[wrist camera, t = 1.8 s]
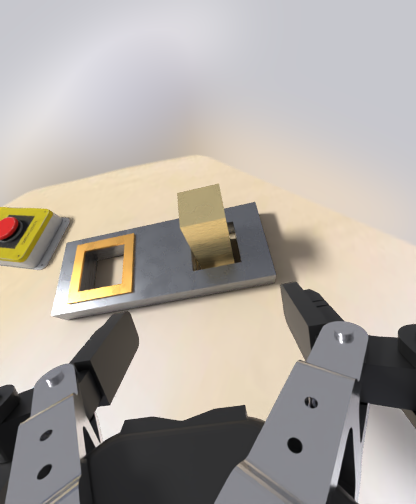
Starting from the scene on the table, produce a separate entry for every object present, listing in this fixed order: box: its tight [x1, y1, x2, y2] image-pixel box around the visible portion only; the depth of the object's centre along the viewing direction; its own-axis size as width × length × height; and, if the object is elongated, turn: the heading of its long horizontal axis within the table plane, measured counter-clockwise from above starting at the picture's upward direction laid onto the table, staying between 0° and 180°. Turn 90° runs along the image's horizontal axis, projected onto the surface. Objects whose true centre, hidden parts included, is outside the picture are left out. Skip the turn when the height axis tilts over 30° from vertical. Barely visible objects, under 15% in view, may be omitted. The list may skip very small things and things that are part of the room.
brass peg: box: [177, 184, 234, 269], centre depth 25 cm, size 4×4×10 cm
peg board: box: [51, 202, 276, 320], centre depth 28 cm, size 26×10×3 cm, turn 97°
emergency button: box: [0, 207, 70, 270], centre depth 35 cm, size 9×4×15 cm
